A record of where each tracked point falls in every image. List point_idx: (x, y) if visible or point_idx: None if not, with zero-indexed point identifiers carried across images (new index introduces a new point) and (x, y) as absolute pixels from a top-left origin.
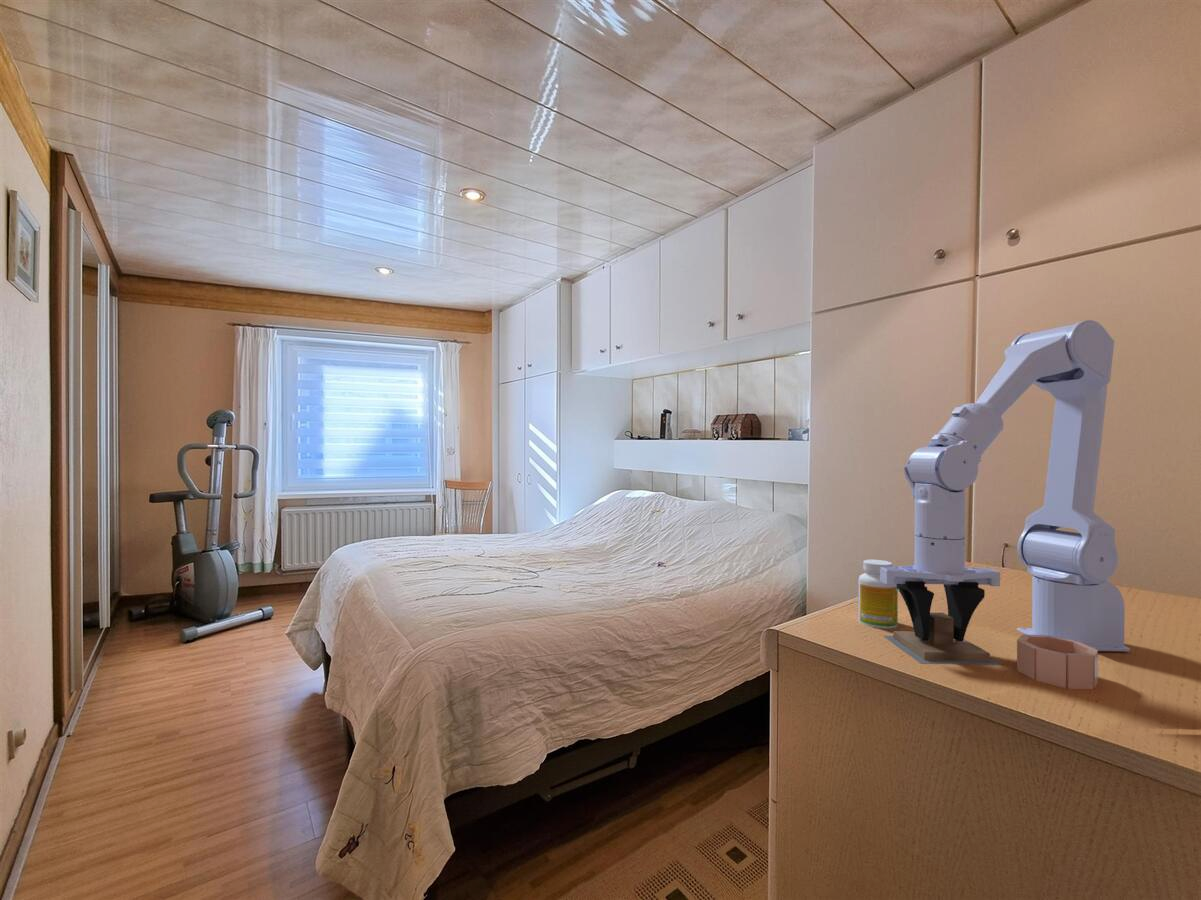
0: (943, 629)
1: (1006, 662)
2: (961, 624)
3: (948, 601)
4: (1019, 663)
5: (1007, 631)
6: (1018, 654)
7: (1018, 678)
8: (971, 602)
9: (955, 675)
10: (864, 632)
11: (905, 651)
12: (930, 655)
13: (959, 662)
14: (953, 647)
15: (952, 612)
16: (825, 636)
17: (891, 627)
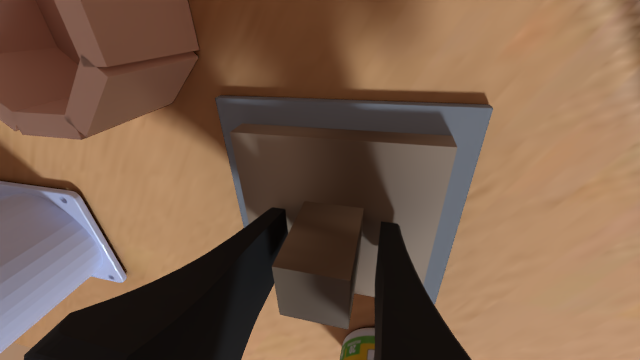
0: (324, 238)
1: (198, 136)
2: (255, 238)
3: (238, 355)
4: (172, 45)
5: (143, 281)
6: (151, 52)
7: (210, 8)
8: (158, 303)
9: (413, 18)
10: (453, 331)
11: (461, 205)
12: (430, 141)
13: (338, 114)
14: (316, 183)
15: (250, 304)
16: (610, 335)
17: (372, 332)
